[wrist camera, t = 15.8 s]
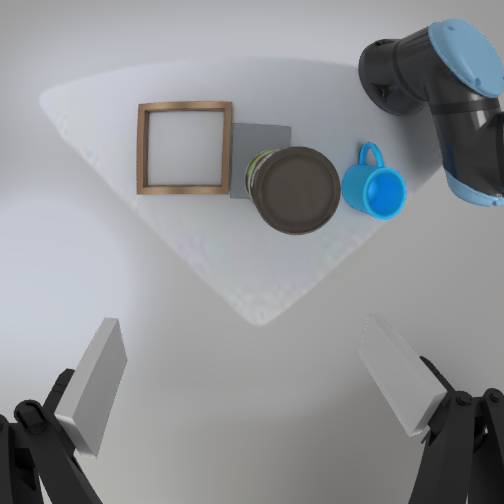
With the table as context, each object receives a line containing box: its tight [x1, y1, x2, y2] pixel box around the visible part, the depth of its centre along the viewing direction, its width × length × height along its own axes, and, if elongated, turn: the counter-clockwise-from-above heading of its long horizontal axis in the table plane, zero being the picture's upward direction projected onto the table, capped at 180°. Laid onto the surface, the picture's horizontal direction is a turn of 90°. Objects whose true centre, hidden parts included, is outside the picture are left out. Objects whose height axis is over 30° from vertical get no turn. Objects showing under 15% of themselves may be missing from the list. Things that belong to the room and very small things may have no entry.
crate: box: [137, 101, 232, 194], centre depth 41 cm, size 14×14×3 cm
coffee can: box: [244, 147, 341, 235], centre depth 39 cm, size 10×10×14 cm
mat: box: [230, 123, 291, 199], centre depth 45 cm, size 9×12×1 cm
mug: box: [342, 142, 407, 220], centre depth 43 cm, size 12×8×8 cm
